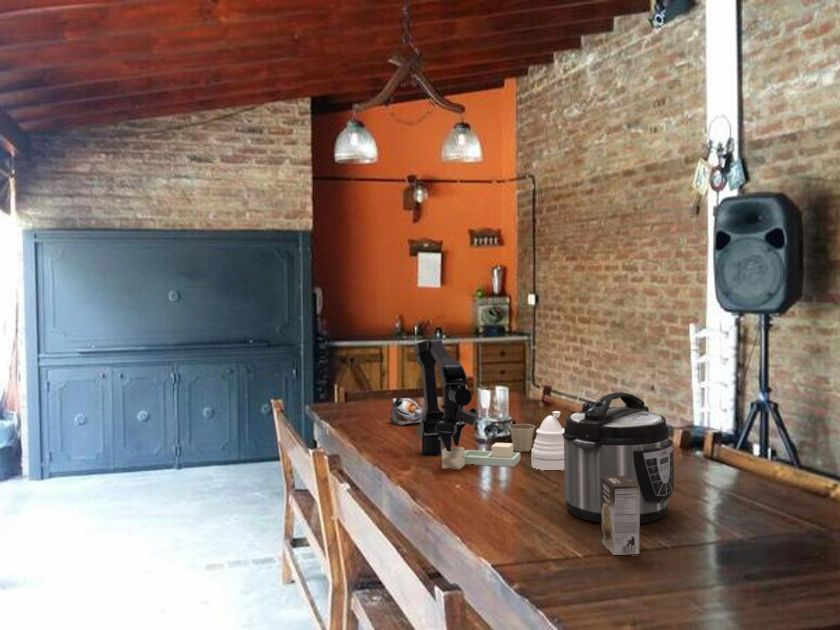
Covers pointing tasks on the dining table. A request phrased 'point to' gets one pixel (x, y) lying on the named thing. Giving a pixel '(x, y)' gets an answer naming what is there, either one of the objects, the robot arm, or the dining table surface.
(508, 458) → the tray
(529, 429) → the flower pot
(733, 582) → the dining table surface
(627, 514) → the coffee box
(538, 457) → the honey pot
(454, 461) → the maple cube
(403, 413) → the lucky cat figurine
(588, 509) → the pressure cooker
